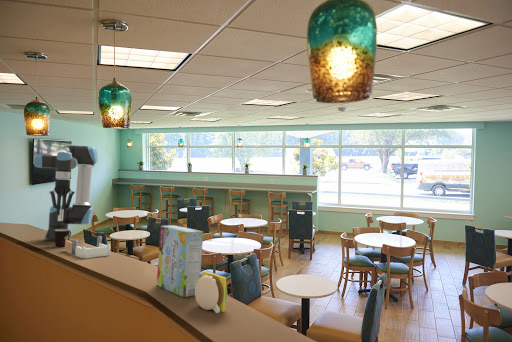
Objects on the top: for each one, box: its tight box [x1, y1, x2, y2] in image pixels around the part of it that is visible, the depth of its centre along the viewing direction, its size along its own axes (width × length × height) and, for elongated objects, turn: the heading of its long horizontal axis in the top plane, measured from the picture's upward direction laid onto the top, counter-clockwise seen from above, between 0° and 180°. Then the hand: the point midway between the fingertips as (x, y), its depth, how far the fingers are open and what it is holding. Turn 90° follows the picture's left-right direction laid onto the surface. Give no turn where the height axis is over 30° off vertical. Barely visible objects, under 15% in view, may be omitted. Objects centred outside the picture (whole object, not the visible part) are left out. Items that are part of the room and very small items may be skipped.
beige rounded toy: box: [194, 270, 228, 314], centre depth 134 cm, size 12×8×12 cm
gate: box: [64, 239, 79, 253], centre depth 212 cm, size 13×3×7 cm, turn 48°
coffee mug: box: [54, 228, 72, 248], centre depth 230 cm, size 12×9×10 cm
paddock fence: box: [69, 235, 111, 259], centre depth 210 cm, size 15×17×9 cm
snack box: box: [156, 224, 204, 298], centre depth 154 cm, size 22×9×26 cm, turn 43°
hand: (60, 220), depth 210 cm, fingers closed
